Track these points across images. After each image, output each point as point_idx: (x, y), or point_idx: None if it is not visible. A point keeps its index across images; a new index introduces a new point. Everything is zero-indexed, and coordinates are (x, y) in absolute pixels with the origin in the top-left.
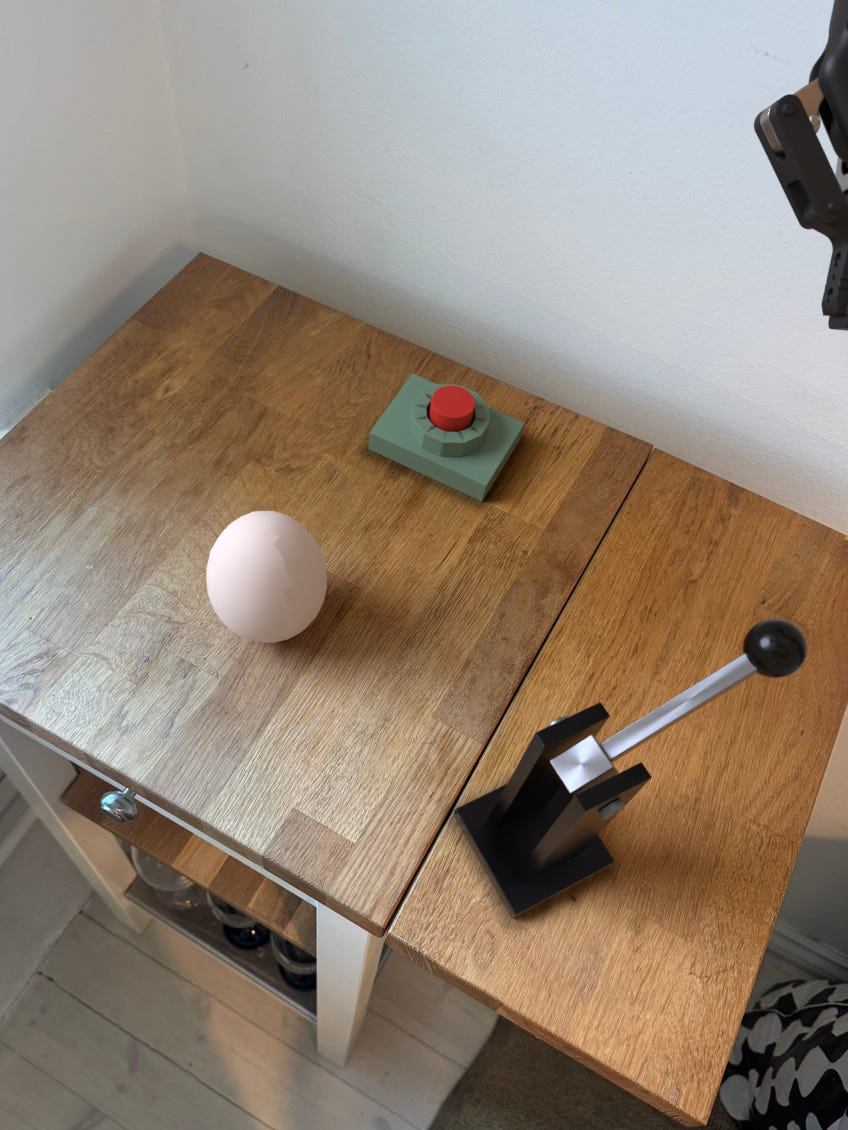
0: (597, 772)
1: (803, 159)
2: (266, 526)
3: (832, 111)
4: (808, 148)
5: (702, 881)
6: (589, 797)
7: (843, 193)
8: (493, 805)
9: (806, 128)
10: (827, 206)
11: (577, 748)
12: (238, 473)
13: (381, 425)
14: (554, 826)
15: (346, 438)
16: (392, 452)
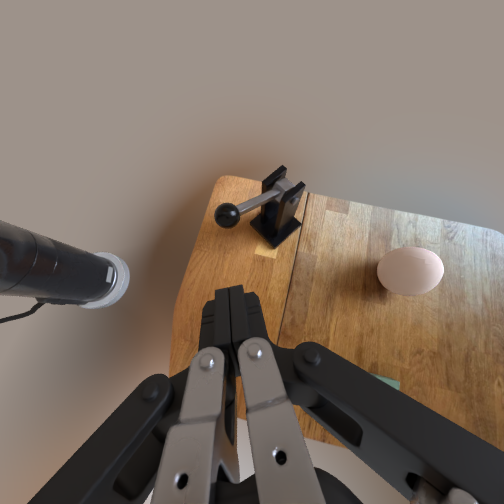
0: (280, 181)
1: (407, 405)
2: (433, 266)
3: None
4: (417, 429)
5: (221, 228)
6: (282, 169)
7: (309, 378)
8: (290, 228)
9: (461, 474)
10: (321, 354)
11: (288, 187)
12: (437, 342)
13: (396, 388)
14: None
15: (404, 382)
16: (381, 376)
